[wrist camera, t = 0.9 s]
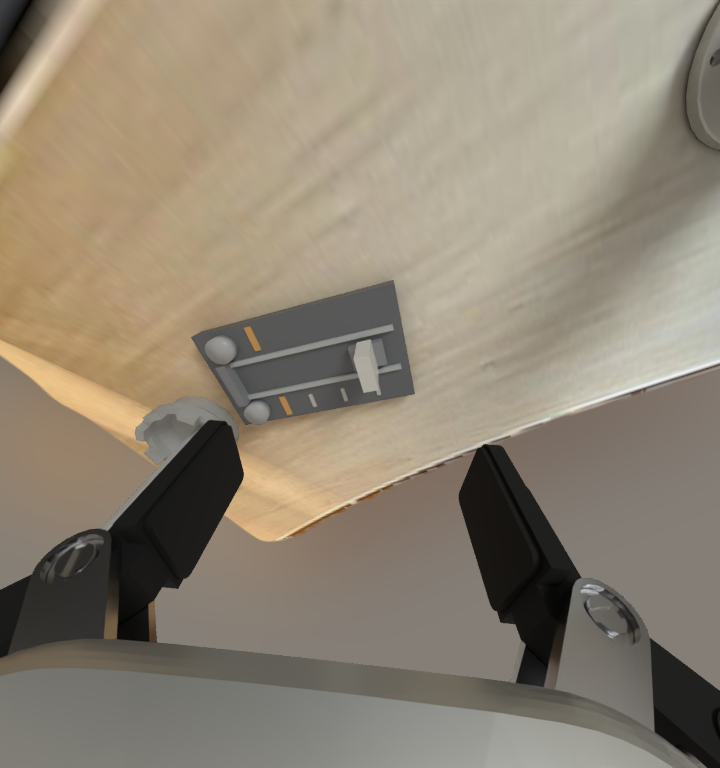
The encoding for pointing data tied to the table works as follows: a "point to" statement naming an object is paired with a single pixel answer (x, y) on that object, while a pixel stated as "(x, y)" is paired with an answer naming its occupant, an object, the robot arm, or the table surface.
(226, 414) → the flag stand
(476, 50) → the table surface
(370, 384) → the fader tab
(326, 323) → the console
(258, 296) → the table surface
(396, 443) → the table surface
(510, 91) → the table surface
